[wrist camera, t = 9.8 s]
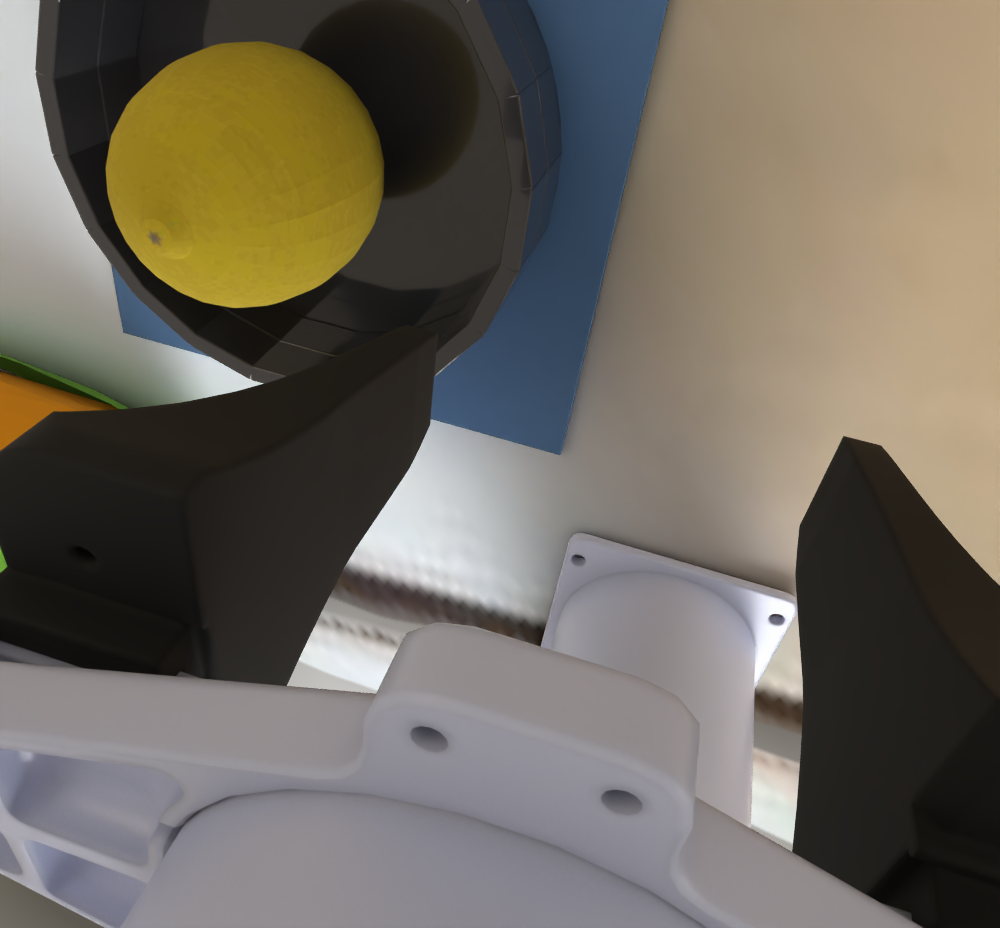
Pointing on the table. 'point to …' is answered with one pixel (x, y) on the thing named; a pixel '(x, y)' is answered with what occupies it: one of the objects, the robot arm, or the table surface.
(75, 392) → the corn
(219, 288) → the lemon
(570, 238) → the napkin
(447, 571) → the table surface
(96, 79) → the pan
